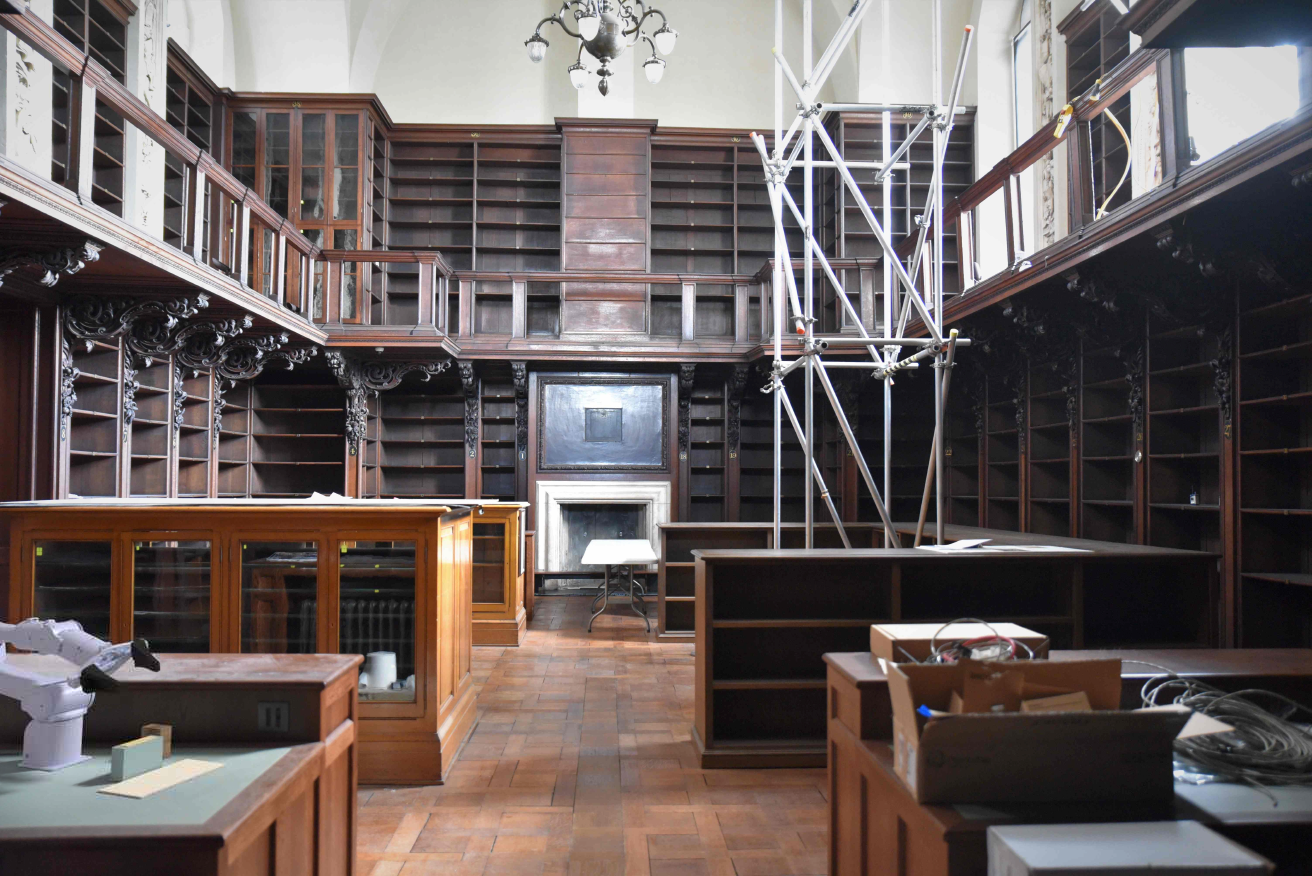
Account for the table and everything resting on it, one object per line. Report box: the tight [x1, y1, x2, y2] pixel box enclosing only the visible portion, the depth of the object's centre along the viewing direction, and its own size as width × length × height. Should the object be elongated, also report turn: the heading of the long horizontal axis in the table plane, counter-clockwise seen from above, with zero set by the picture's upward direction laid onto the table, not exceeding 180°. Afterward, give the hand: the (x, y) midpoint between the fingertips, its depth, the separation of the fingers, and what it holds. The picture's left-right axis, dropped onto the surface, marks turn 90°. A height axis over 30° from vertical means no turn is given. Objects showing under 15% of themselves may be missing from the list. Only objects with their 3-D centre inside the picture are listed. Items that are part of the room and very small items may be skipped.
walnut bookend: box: [140, 723, 172, 760], centre depth 161 cm, size 5×2×6 cm, turn 72°
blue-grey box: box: [110, 735, 163, 783], centre depth 151 cm, size 3×8×6 cm, turn 162°
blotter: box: [97, 758, 227, 800], centre depth 149 cm, size 10×18×1 cm, turn 162°
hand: (139, 677), depth 152 cm, fingers open, 7 cm apart
